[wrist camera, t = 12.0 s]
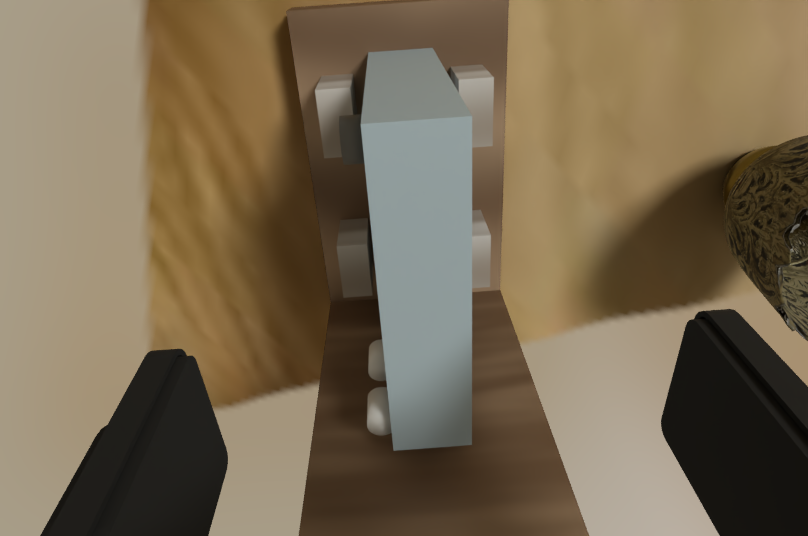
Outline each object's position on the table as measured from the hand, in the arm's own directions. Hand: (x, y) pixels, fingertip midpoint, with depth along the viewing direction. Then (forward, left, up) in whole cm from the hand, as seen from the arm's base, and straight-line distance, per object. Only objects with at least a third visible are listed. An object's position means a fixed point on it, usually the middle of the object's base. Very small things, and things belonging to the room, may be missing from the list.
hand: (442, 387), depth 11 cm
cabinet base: (+1, 0, -15) cm, 15 cm away
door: (+1, 0, -14) cm, 14 cm away
